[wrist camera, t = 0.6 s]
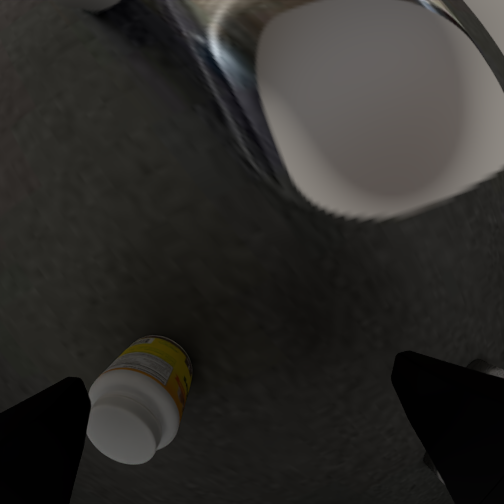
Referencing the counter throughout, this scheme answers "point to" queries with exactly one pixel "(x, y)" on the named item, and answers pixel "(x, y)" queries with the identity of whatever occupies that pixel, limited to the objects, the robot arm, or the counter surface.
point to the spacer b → (486, 368)
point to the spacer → (431, 465)
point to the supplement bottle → (140, 400)
